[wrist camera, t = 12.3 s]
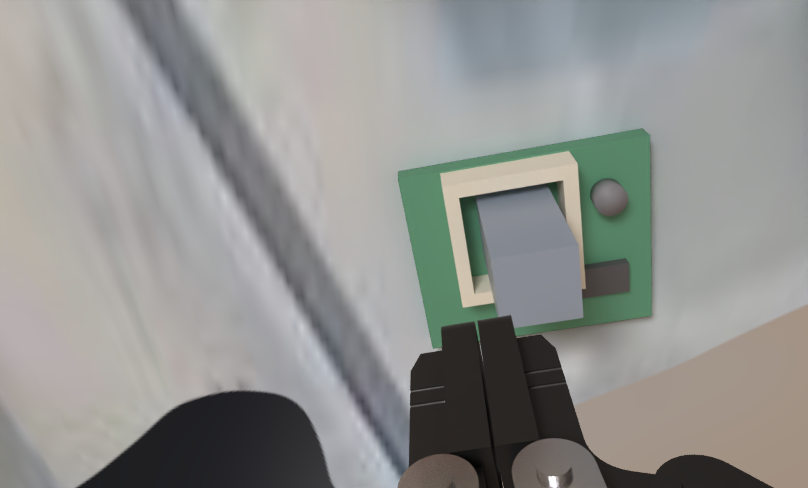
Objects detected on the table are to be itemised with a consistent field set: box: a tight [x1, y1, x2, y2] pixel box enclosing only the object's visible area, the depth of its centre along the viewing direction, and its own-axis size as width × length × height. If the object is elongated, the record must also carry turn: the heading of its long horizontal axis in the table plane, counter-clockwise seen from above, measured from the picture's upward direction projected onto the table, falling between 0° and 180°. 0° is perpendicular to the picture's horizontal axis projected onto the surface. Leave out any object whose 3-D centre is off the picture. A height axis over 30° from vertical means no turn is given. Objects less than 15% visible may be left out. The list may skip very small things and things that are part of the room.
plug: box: [475, 183, 583, 328], centre depth 33 cm, size 4×5×8 cm
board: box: [398, 129, 652, 349], centre depth 37 cm, size 14×12×3 cm
